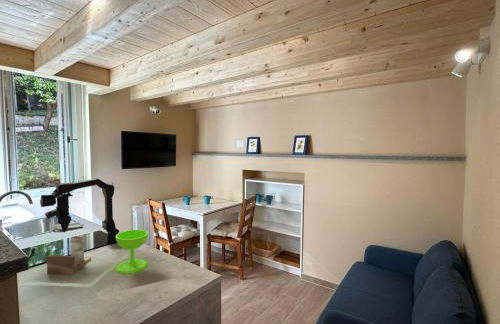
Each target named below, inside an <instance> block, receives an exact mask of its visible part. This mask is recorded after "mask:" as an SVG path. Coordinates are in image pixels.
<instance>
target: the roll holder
mask: <svg viewBox="0 0 500 324" xmlns="http://www.w3.org/2000/svg"><path fill="white" fill-rule="evenodd" d="M84 265H85V264H84V262H80V263H79V264H77V265H76V266H75V256H71V255H60V254H59V255H55V254H48V255H47V256H46V273H47V274H49V275H69V276H71V275H72V276H73V275H74V274H75V273H77V272H79V271H80V270H81V269H84V267H85V266H84Z"/></svg>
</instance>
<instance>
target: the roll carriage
mask: <svg viewBox="0 0 500 324" xmlns="http://www.w3.org/2000/svg"><path fill="white" fill-rule="evenodd" d="M69 239H70V256H75V266H76V265H77V264H79V263H80V262H84V265H85V264H86V263H88V262H89V261H91V259H92V257H88V256H87V257H86V256H85V243H84V242H85V236H84V235H81V234H80V235H74V236H71V237H70V238H69Z"/></svg>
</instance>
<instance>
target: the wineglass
mask: <svg viewBox="0 0 500 324" xmlns="http://www.w3.org/2000/svg"><path fill="white" fill-rule="evenodd" d="M148 236H149V232H148V231H147V230H144V229H130V230H129V229H128V230H125V231H122V232H119V233H118V234H117V235H116V241H117V242H116V244H117V245H118V246H119V247H120V248H122V249H124V250H128V251H130V253H129V254H130V255H129V256H130V257H129V260H128V259H127V260H125V261H122V262H120V263H119V264H118V265H116V267H115V271H116V272H117V273H118V274H125V275H130V274H135V273H139V272H141V271H143V270H145V269H146V268H148V264H149V263H148V262H147V260H145V259H140V258H135V250H137V249H139V248H140V247H142V246H143V245H144V244H145V242H146V241H147V239H148Z"/></svg>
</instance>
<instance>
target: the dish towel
mask: <svg viewBox="0 0 500 324" xmlns="http://www.w3.org/2000/svg"><path fill="white" fill-rule="evenodd" d="M51 229H52V230H53V232H54V233H60V232H63V230H62V228H61V224H59V223H58V224H53V225H51ZM78 229H84V226H83V225H82V223H80V222H79V221H74V222H70V224H69V226H68V228H67V230H66V231H71V230H73V231H74V230H78Z"/></svg>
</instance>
